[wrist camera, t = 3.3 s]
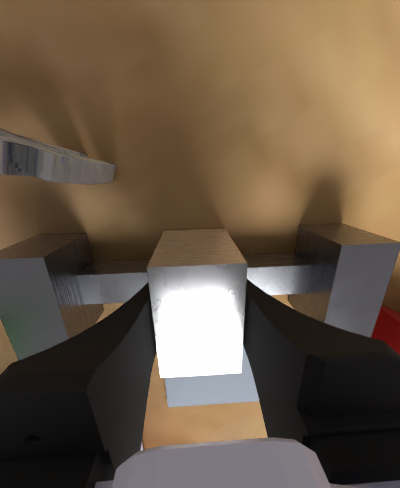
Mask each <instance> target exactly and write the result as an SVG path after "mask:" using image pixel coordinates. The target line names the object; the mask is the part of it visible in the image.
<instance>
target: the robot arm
mask: <svg viewBox="0 0 400 488" xmlns="http://www.w3.org/2000/svg"><path fill="white" fill-rule="evenodd" d="M243 346H244V349H245V352H246V354H247V357H248V360H249V363H250V366H251V370H252V374H253V377H254V381H255V385H256V389H257V393H258V397H259V401H260V405H261V410H262V414H263V418H264V422H265V427H266V431H267V436H268V438H258V439H245V440H232V441H219V442H206V443H193V444H179V445H166V446H158V447H154V448H150V449H146V450H144V449H143V444H142V435H143V427H144V419H145V412H146V404H147V397H148V390H149V383H150V377H151V371H152V366H153V362H154V358H155V354H156V350H157V346H156V338H155V330H154V322H153V314H152V306H151V298H150V290H149V282H148V283H147V284H146V285H145V286H144V287H143V288H141V289H140V290H139V291H138V292H137V293H136V294H135V295H134V296H133V297H132V298H131V299H129V300H128V301H127V302H126V303H124V304H123V305H122V306H121V307H120V308H118V309H117V310H116V311H114V312H113V313H112V314H110V315H109V316H107V317H106V318H104V319H103V320H101V321H100V322H98V323H97V324H95V325H93V326H91V327H90V328H88V329H86V330H84V331H83V332H81V333H79V334H77V335H75V336H73V337H71V338H69V339H67V340H66V341H63V342H61V343H59V344H57V345H55V346H53V347H51V348H48V349H46V350H44V351H41V352H39V353H36V354H34V355H31V356H29V357H26V358H24V359H22V360H19V361H16V362H14V363H11V364H10V365H9V366H8V367H7V368H6V369H5V370H4V371H3V373H2V374H1V375H0V488H400V355H399V354H398V353H397V352H396V351H395V350H393V349H392V348H391V347H390V346H389V345H388V344H386V343H385V342H384V341H381V340H378V339H374V338H370V337H367V336H363V335H360V334H356V333H352V332H349V331H346V330H343V329H340V328H337V327H334V326H331V325H329V324H326V323H323V322H321V321H318V320H316V319H314V318H311V317H309V316H307V315H304V314H302V313H300V312H298V311H296V310H294V309H292V308H290V307H288V306H287V305H285V304H283V303H281V302H280V301H278V300H276V299H275V298H273V297H272V296H270V295H269V294H267V293H266V292H264V291H263V290H261V289H260V288H259V287H257V286H256V285H255V284H253V283H252V282H251V281H249V280H248V279H247V281H246V298H245V315H244V332H243Z"/></svg>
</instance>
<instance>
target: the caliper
mask: <svg viewBox="0 0 400 488" xmlns="http://www.w3.org/2000/svg"><path fill="white" fill-rule="evenodd" d="M115 168H116V165H115V164H112V163H109V162H105V161H100V160H96V159H91V158H87V155H86V154H83V153H80V152H77V151H74V150H70V149H66V148H63V147H59V146H55V145H52V144H48V143H44V142H41V141H37V140H33V139H30V138H26V137H22V136H19V135H16V134H14V133H11V132H9V131H7V130H4V129H2V128H0V174H3V175H18V176H32V177H37V178H40V179H43V180H46V181H49V182H58V183H75V184H101V183H111V182H113V179H114V173H115Z"/></svg>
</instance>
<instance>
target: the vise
mask: <svg viewBox="0 0 400 488" xmlns="http://www.w3.org/2000/svg"><path fill="white" fill-rule="evenodd" d="M399 250H400V242H398V241H395V240H392V239H389V238H386V237H383V236H379V235H376V234H373V233H370V232H367V231H364V230H361V229H358V228H355V227H351V226H348V225H345V224H319V225H299V229H298V236H297V243H296V250H295V253H281V254H257V255H242V256H243V257H244V259H245V260H246V262H247V279H248V280H249V281H251V282H252V283H253V284H255V285H256V286H257V287H259V288H260V289H261V290H263V291H264V292H266V293H267V294H269V295H284V294H289V299H288V301H289V303H290V304H291V305H292V307H293V308H294V309H295V310H296V311H298V312H300V313H302V314H304V315H307V316H309V317H311V318H314V319H316V320H318V321H321V322H323V323H326V324H329V325H331V326H334V327H337V328H340V329H343V330H346V331H349V332H352V333H356V334H360V335H363V336H367V337H370V338H371V336H372V332H373V329H374V326H375V323H376V320H377V317H378V314H379V311H380V308H381V305H382V302H383V299H384V296H385V293H386V290H387V287H388V284H389V281H390V278H391V275H392V272H393V269H394V266H395V262H396V259H397V256H398V253H399ZM150 260H151V259H139V260H115V261H93V260H92V256H91V251H90V247H89V242H88V238H87V233H76V234H49V235H37V236H35V237H32V238H30V239H27V240H25V241H22V242H20V243H17V244H15V245H12V246H10V247H7V248H5V249H2V250H0V319H1V321H2V323H3V326H4V328H5V330H6V333H7V335H8V337H9V339H10V342H11V344H12V346H13V349H14V351H15V353H16V355H17V358H18V360H22V359H24V358H26V357H29V356H31V355H34V354H36V353H39V352H41V351H44V350H46V349H48V348H51V347H53V346H55V345H57V344H59V343H61V342H63V341H66V340H67V339H69V338H71V337H73V336H75V335H77V334H79V333H81V332H83V331H84V330H86V329H88V328H90V327H91V326H93V325H95V323H96V322H97V320H98V319H99V317H100V316H101V314H102V312H103V311H104V309H103V305H102V303H122V302H127V301H128V300H129V299H131V298H132V297H133V296H134V295H135V294H136V293H137V292H138V291H139V290H140V289H141V288H143V287H144V286H145V285H146V284H147V283H148V274H147V266H148V264H149V262H150Z"/></svg>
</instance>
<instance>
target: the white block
mask: <svg viewBox="0 0 400 488" xmlns="http://www.w3.org/2000/svg"><path fill="white" fill-rule="evenodd" d="M147 274H148V282H149V290H150V298H151V306H152V314H153V322H154V330H155V338H156V346H157V353H158V361H159V369H160V377H161V378H167V377H183V376H199V375H214V374H230V373H241V366H242V349H243V332H244V315H245V298H246V281H247V262H246V260H245V259H244V257H243V256H242V254H241V253H240V251H239V249H238V248H237V246H236V245H235V243H234V242H233V240H232V239H231V237H230V236H229V234H228V233H227V231H226V229H225V228H221V229H194V230H167V231H164V232H163V234H162V236H161V238H160V240H159V242H158V245H157V247H156V249H155V251H154V253H153V255H152V257H151V260H150V262H149V264H148V266H147Z"/></svg>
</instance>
